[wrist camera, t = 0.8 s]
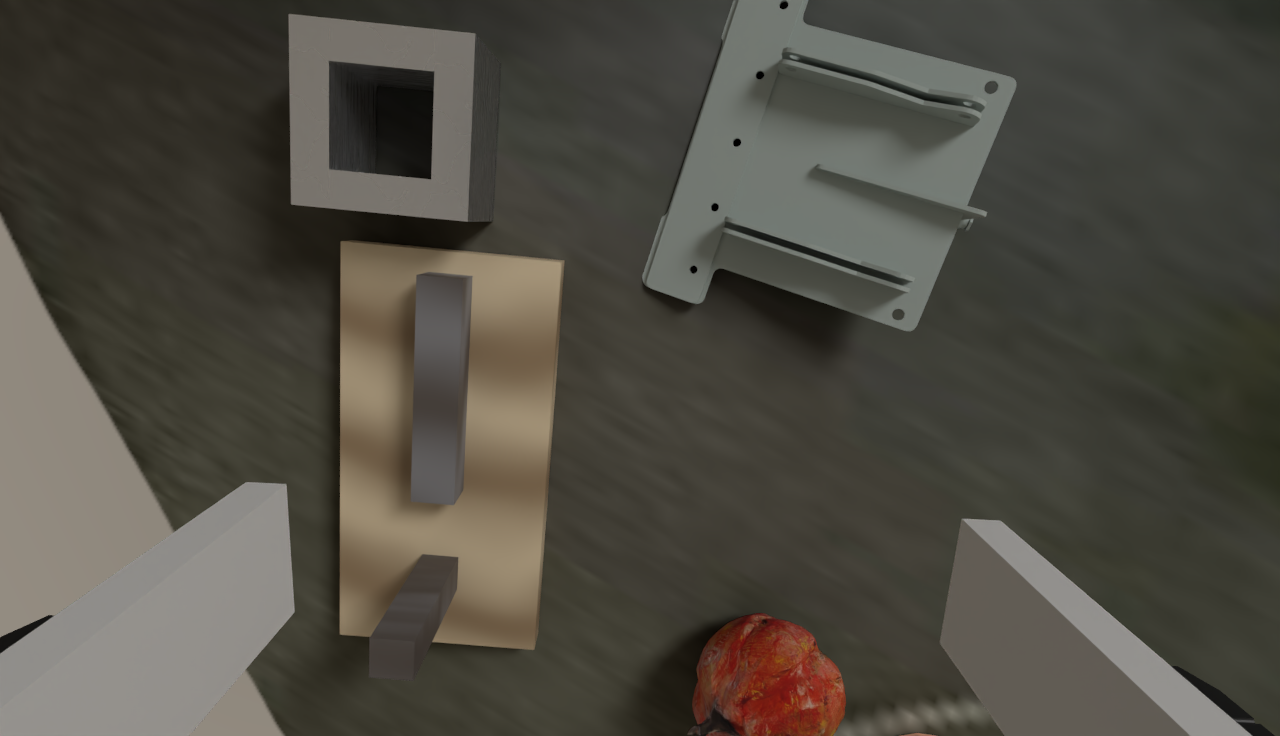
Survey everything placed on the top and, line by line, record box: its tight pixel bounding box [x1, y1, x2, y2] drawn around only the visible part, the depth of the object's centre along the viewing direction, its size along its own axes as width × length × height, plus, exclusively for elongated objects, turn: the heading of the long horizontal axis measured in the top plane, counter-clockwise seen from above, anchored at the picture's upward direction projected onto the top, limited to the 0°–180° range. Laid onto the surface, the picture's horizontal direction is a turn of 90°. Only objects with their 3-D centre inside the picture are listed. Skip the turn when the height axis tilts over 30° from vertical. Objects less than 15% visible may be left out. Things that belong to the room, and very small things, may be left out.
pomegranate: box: [687, 613, 846, 736], centre depth 34 cm, size 7×7×10 cm
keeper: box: [340, 240, 565, 681], centre depth 30 cm, size 20×10×8 cm, turn 175°
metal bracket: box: [642, 0, 1016, 331], centre depth 31 cm, size 14×6×15 cm
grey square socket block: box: [289, 14, 501, 222], centre depth 29 cm, size 7×7×5 cm
